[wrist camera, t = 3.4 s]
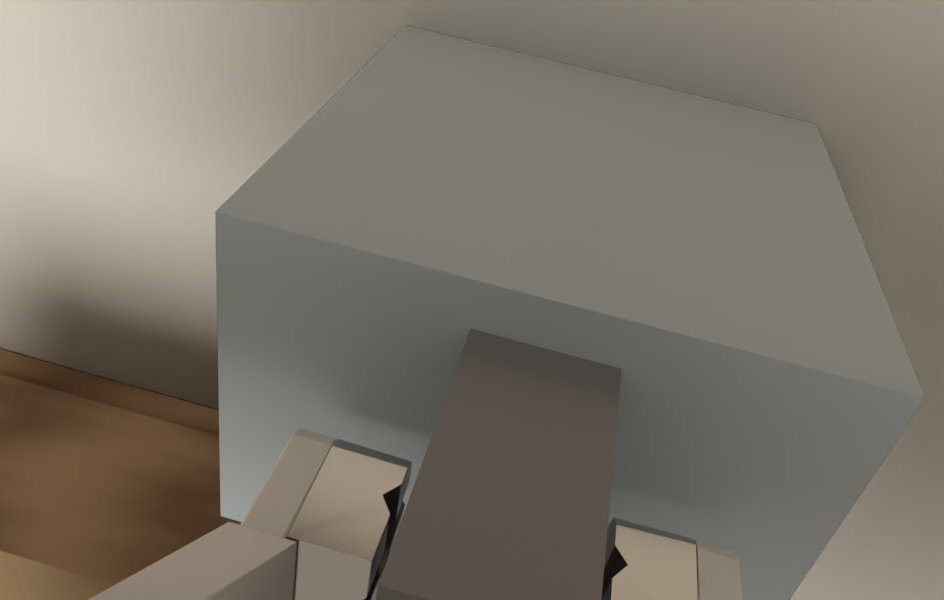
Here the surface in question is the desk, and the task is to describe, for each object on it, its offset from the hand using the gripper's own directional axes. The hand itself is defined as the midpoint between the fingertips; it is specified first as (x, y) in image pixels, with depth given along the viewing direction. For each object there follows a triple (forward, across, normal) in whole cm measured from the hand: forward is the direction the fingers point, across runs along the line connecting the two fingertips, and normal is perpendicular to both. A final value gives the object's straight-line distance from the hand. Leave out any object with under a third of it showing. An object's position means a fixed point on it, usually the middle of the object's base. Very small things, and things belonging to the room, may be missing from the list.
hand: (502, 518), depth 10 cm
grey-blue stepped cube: (+10, 0, +2) cm, 11 cm away
